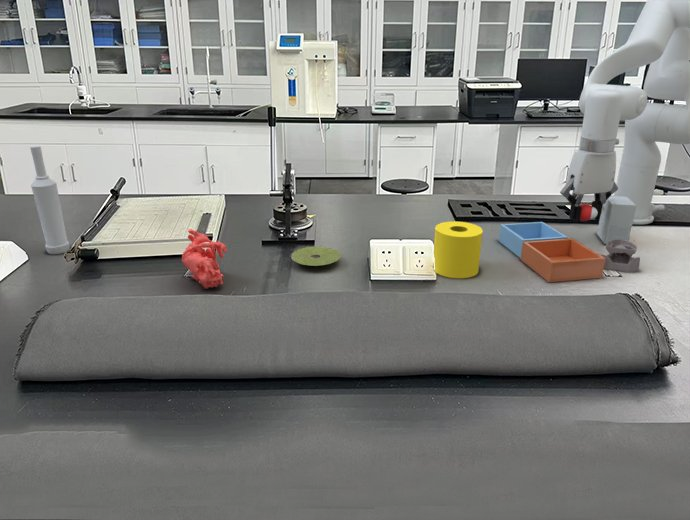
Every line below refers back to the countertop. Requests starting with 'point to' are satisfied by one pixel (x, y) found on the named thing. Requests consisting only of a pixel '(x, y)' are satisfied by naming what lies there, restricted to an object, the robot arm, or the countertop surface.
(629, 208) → the small box
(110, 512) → the countertop surface
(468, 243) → the tape roll
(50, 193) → the bottle
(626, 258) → the dental mold
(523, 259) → the bin
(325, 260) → the green sanding disc
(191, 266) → the anatomical heart
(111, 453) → the countertop surface
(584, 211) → the molecule
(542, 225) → the blue bin
